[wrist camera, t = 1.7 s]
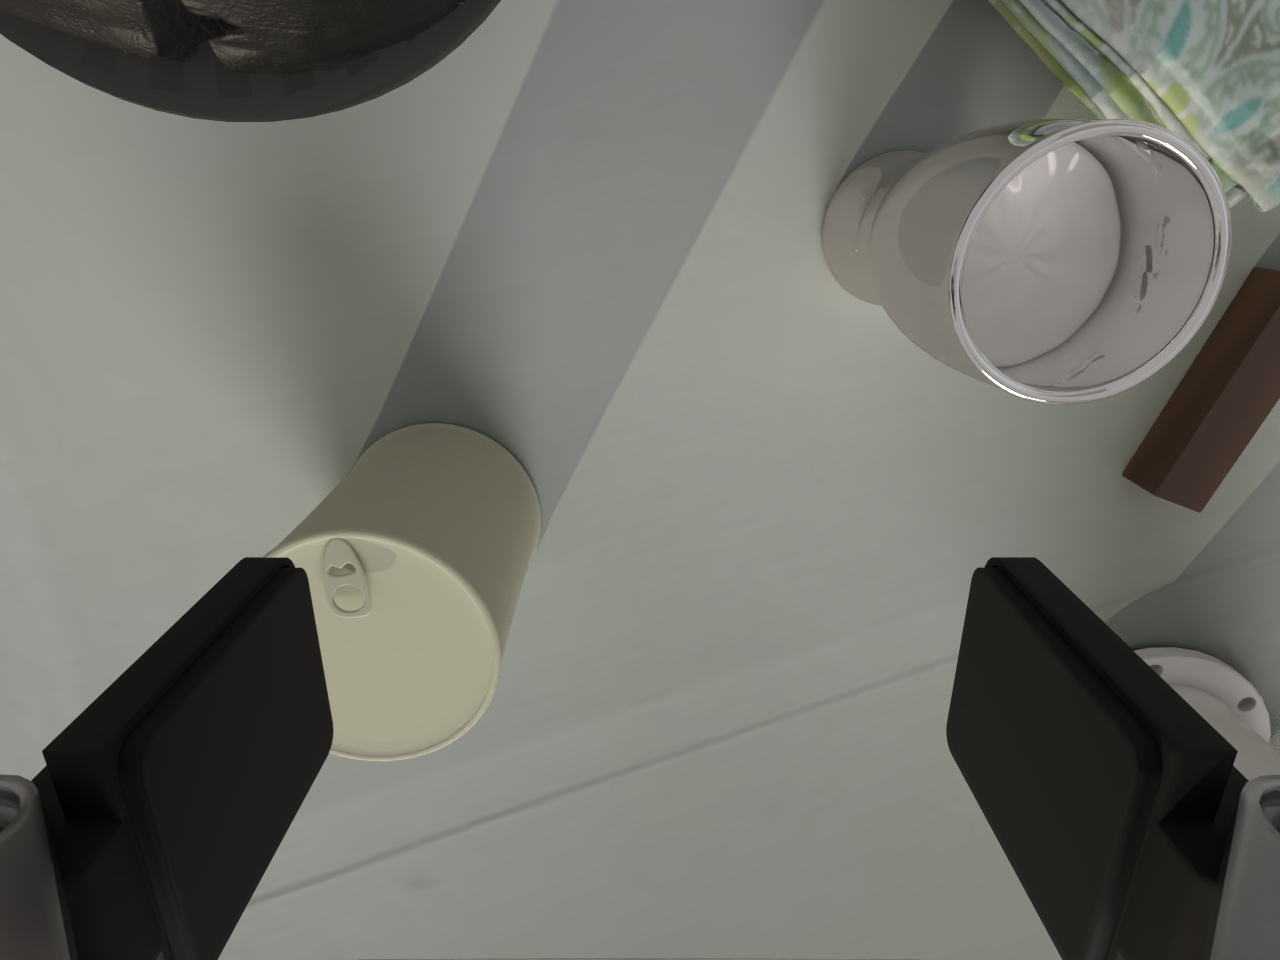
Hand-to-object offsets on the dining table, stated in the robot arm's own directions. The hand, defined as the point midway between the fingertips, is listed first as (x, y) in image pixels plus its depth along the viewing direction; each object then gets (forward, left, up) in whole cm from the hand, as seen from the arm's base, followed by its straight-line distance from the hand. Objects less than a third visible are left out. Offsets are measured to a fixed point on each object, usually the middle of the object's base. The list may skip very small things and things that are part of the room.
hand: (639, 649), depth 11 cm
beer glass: (-8, -8, -25) cm, 27 cm away
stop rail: (-24, -7, -24) cm, 35 cm away
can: (+6, +11, -25) cm, 28 cm away
